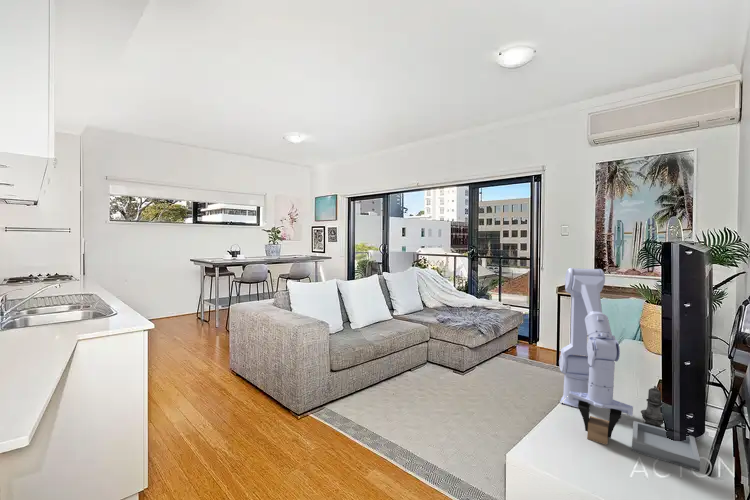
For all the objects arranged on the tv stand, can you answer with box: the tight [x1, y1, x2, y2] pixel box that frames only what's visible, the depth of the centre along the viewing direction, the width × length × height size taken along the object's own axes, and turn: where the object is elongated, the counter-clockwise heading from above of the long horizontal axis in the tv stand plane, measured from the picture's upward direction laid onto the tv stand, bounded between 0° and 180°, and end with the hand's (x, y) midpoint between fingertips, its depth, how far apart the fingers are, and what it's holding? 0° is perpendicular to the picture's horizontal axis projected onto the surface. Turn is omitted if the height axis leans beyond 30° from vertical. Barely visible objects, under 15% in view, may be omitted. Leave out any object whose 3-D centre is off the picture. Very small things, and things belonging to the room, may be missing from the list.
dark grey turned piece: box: [640, 385, 665, 429], centre depth 106 cm, size 6×6×12 cm
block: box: [586, 415, 609, 445], centre depth 99 cm, size 4×4×4 cm
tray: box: [631, 420, 701, 472], centre depth 95 cm, size 13×13×2 cm
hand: (598, 432), depth 99 cm, fingers closed on block, 4 cm apart
